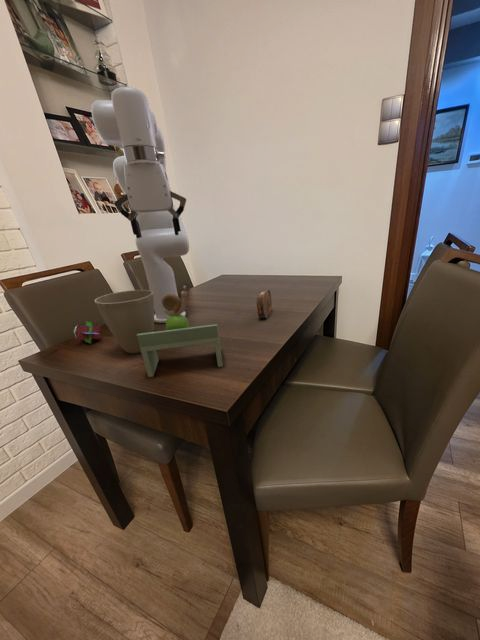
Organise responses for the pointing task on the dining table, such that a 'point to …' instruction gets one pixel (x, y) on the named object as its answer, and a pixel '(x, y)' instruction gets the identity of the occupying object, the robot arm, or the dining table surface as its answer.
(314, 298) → the dining table surface
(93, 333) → the geometric puzzle
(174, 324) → the snail figurine
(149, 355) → the shelf
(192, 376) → the dining table surface
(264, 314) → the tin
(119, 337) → the plant pot
